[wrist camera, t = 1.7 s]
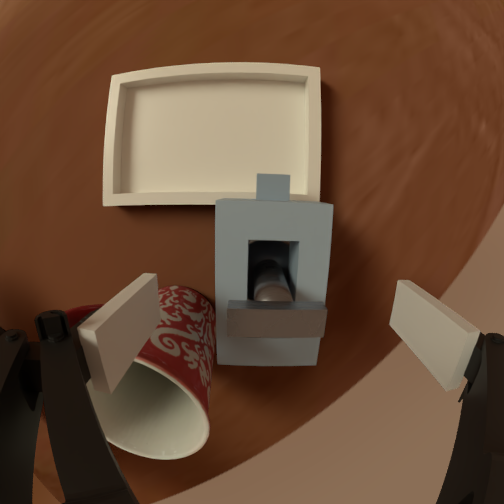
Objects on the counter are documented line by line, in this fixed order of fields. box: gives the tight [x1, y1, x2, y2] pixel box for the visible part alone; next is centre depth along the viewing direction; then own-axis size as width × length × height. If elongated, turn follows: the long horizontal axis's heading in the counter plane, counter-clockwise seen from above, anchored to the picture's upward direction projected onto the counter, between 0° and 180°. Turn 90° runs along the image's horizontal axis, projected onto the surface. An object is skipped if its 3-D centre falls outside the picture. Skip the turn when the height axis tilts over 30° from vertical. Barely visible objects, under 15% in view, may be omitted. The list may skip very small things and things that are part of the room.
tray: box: [103, 62, 321, 206], centre depth 22 cm, size 18×12×2 cm, turn 88°
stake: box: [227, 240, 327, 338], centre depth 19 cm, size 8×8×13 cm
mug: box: [65, 286, 216, 460], centre depth 20 cm, size 13×9×14 cm
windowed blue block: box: [215, 173, 333, 366], centre depth 18 cm, size 12×6×4 cm, turn 178°
